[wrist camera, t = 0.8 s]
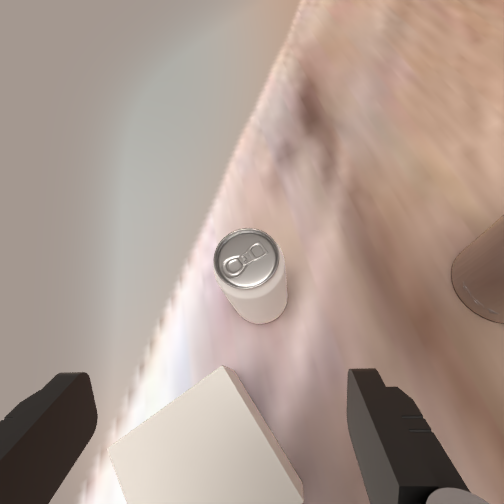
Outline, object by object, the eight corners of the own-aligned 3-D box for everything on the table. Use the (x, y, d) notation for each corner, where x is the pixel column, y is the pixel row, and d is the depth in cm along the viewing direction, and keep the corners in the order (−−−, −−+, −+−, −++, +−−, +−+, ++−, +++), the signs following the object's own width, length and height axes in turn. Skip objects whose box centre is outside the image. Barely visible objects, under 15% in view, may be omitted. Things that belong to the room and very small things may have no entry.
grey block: (233, 370, 34) (222, 365, 29) (302, 483, 30) (303, 502, 24) (137, 440, 33) (106, 448, 27) (193, 572, 28) (168, 614, 22)
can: (223, 292, 38) (195, 250, 28) (266, 262, 39) (256, 210, 28) (253, 336, 36) (234, 309, 25) (299, 303, 37) (300, 263, 26)
